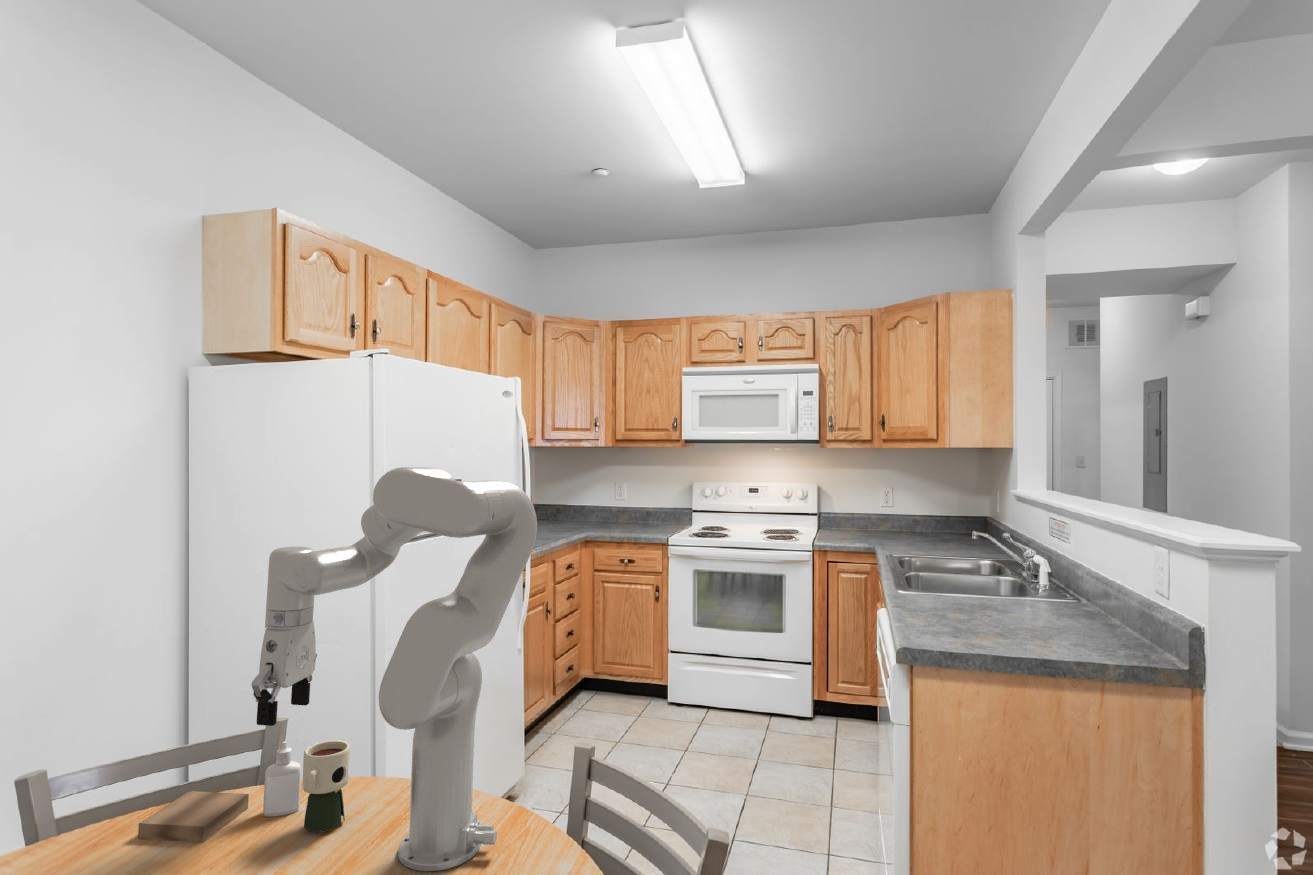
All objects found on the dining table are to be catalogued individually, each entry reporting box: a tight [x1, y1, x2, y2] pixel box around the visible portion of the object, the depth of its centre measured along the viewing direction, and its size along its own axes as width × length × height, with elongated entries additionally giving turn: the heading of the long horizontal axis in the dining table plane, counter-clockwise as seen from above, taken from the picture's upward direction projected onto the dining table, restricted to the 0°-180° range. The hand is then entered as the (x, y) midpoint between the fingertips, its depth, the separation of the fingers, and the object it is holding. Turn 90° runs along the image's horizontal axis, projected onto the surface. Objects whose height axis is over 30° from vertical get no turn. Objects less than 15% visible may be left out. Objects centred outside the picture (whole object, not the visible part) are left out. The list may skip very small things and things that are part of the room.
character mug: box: [302, 739, 351, 833], centre depth 114 cm, size 11×7×13 cm, turn 0°
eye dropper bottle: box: [262, 740, 302, 818], centre depth 119 cm, size 4×6×12 cm
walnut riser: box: [137, 790, 250, 843], centre depth 114 cm, size 11×11×2 cm
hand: (283, 714), depth 120 cm, fingers open, 9 cm apart
